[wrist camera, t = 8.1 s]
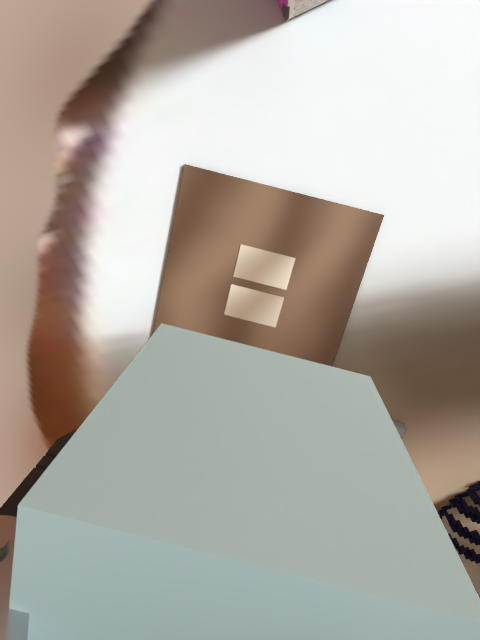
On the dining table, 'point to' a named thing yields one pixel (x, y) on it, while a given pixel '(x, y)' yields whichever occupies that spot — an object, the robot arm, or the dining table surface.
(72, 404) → the dining table surface
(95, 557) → the pale green block
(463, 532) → the decorative bowl
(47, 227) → the dining table surface
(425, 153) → the dining table surface
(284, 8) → the candy bar box
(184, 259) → the brown coaster
